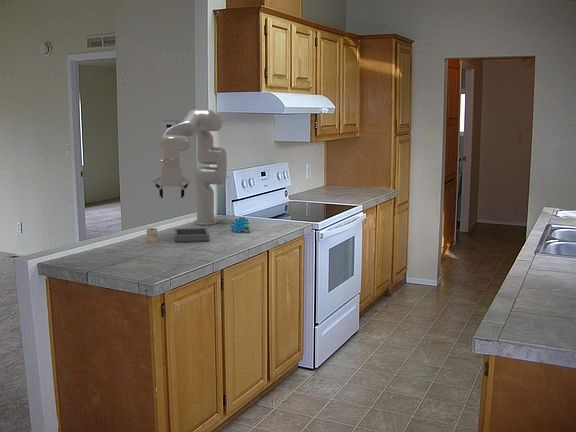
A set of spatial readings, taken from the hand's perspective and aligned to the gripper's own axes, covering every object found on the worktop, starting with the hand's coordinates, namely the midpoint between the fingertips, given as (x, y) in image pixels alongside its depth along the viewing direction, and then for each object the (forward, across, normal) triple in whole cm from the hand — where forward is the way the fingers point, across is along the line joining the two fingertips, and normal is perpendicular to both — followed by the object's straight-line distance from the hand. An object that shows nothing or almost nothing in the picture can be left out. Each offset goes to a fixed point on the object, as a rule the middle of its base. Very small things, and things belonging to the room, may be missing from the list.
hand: (172, 197), depth 300 cm
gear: (+21, +34, +19) cm, 44 cm away
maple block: (+21, -10, -2) cm, 23 cm away
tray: (+21, +9, +3) cm, 23 cm away
